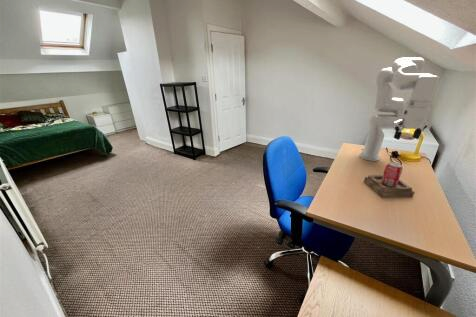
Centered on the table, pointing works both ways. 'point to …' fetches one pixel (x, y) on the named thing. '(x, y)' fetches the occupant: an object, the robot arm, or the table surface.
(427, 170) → the table surface
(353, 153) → the table surface
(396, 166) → the soda can
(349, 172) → the table surface
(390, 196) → the walnut tray
